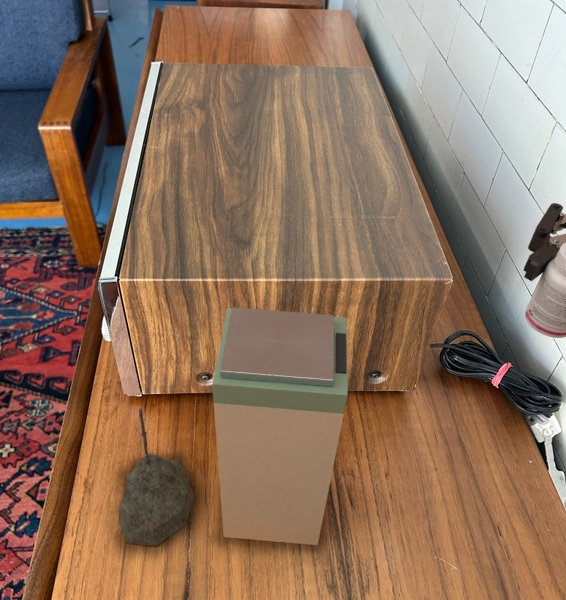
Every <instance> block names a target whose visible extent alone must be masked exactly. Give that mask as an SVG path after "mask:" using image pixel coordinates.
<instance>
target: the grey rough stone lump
mask: <svg viewBox="0 0 566 600" xmlns="http://www.w3.org/2000/svg"><path fill="white" fill-rule="evenodd" d="M138 415H139V422H140V428H141V433H140V435H141V436H142V441H143V450H144V455H145V456H143V457H142V458H140V459H139V461H137V462H136V464H134V467H133V469H132V471H130V472H127V473H125V475H124V476H125V478H126V480H127V481H126V485H125V489H124V492H123V495H122V497H121V501H120V504H119V519H118V521H119V524H120V528H121V530H122V533H123V536H124V539H125V542H126V543H127V544H132V545H141V546H151V547H157V546H159V545H160V544H162V543H163V542H164V541H166V540H167V539H168V538H170V537H171V536H173V535H174V534H175V533H176V532H178V531H179V530H180V529H182V528H183V527H184V526H185V525H187V522H188V519H189V515H190V513H191V510H192V507H193V503H194V501H195V495H194V492H193V489H192V487H191V483H190V481H189V478H188V476H187V475H188V474H187V473H186V471H185V469H184V468H183V465H182V463H181V461H180V459H165V458H162V457H161V456H159V455H157V454H153V453H149V451H148V439H147V434H148V433H147V431H146V428H145V422H144V413H143V409H142V408H139V409H138Z"/></svg>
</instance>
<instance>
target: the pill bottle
mask: <svg viewBox="0 0 566 600" xmlns="http://www.w3.org/2000/svg"><path fill="white" fill-rule="evenodd" d="M524 317H525V320H526V322H527V324H528V325H529V326H530V327H531V328H532V329H533V330H534V331H536V332H538V333H539V334H541V335H543V336H546V337H549V338H554V339H563V338H566V243H564V244H563V245H562V246H561V247H560V249H559V251H558V253H557V256H556V257H555V259H553V260H551V261H550V262H549V263H548V264H547V266H546V268H545V270H544V272H543V273H542V274H541V275H540V278H539V281H538V282H537V285H536V287H535V289H534V291H533V294H532V295H531V297H530V300H529V302H528V304H527V306H526V309H525V311H524Z"/></svg>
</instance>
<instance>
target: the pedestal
mask: <svg viewBox="0 0 566 600" xmlns="http://www.w3.org/2000/svg"><path fill="white" fill-rule="evenodd" d="M213 409H214V410H213V412H214V424H215V439H216V451H217V464H218V465H217V466H218V477H219V493H220V504H221V505H220V506H221V518H222V519H221V520H222V532H223V538H230V539H240V540H241V539H243V540H253V541H265V542H276V543H288V544H299V545H309V546H318V544H319V540H320V535H321V531H322V530H321V529H322V525H323V520H324V516H325V511H326V506H327V501H328V496H329V491H330V487H331V486H330V485H331V480H332V476H333V470H334V465H335V461H336V457H337V456H336V455H337V451H338V445H339V441H340V437H341V431H342V426H343V421H344V415H345V413H344V414H340V413H328V412H316V411H304V410H292V409H280V408H268V407H256V406H244V405H232V404H220V403H214V402H213Z"/></svg>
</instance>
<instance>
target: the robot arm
mask: <svg viewBox="0 0 566 600" xmlns="http://www.w3.org/2000/svg"><path fill="white" fill-rule="evenodd" d="M563 210H564V206H563V205H562V204H561V203H557V202H553V203H551V204H550V205H549V207H548V208H547V210H546V211H545V213H544V214H543V216H542V218H541V219H540V221H538V224H537V225H536V227H535V230H534V231H533V234H532V236H531V239H530V240H529V243H528V246H527V249H528V251H530V252H531V253H530V254H529V256H528V258H527V261H526V263H525V264H524V267H523V271H524V272H525V273H524V275H523V278H524V279H526V280H528V281H530V282H533V281H534V280H536V279H537V278H538V277H540V276H542V274H543V272H544V270H545V268H546V266H547V264H548V263H549V262H550V261H551V260H553V259H555V257H556V256H557V253H558V251H559V249H560V247H561V246H562V245H563V244H564V243H566V232H565V233H562V234H558V235H556V234H557V233H558V232H561V231H563V230H565V229H566V213H564V212H563ZM551 235H553V236H551Z"/></svg>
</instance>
